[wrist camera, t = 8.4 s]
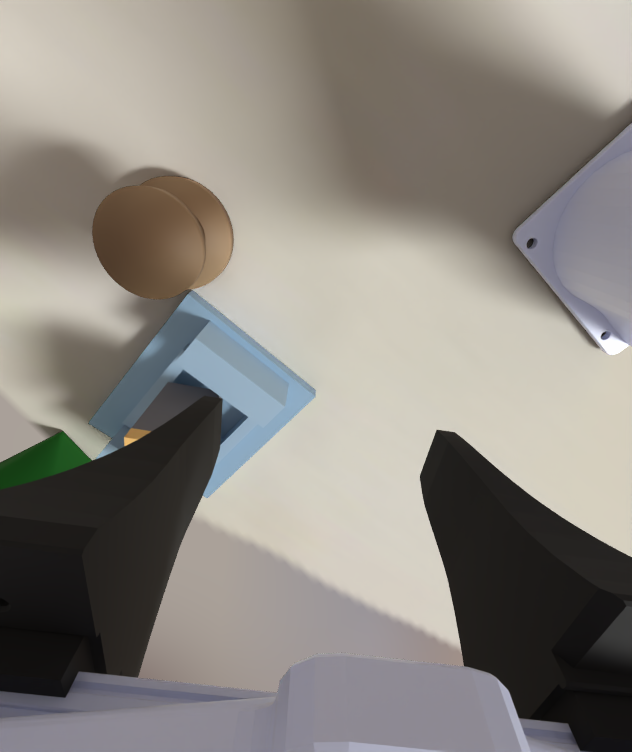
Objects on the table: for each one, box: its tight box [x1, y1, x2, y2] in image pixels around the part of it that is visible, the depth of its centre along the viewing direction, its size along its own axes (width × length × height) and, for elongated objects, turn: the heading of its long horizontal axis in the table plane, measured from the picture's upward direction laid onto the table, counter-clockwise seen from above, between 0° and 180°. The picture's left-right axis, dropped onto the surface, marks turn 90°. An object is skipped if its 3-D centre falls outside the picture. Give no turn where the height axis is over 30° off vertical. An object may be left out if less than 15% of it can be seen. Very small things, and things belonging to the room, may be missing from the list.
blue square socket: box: [89, 290, 316, 498], centre depth 22 cm, size 9×11×3 cm
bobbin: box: [92, 176, 234, 299], centre depth 17 cm, size 5×5×4 cm
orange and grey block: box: [124, 382, 221, 446], centre depth 20 cm, size 3×4×5 cm
